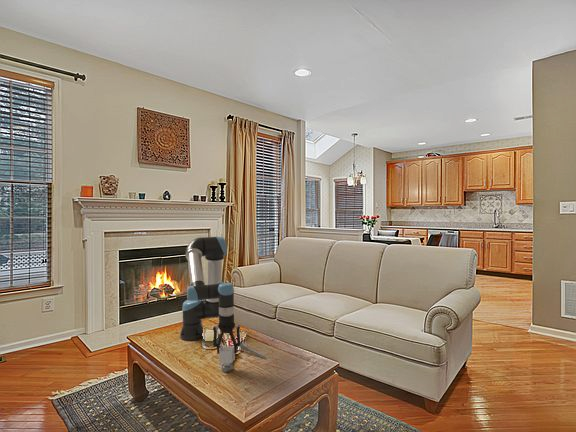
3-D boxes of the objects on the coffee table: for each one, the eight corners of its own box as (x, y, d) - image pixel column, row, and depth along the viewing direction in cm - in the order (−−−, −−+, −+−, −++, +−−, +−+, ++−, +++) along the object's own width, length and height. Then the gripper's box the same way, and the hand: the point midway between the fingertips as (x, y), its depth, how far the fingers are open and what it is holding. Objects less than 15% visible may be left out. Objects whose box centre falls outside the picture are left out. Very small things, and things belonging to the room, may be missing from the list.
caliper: (237, 351, 196) (236, 340, 195) (238, 350, 196) (238, 339, 196) (266, 359, 185) (266, 348, 184) (267, 358, 186) (267, 347, 185)
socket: (222, 357, 175) (222, 346, 175) (233, 357, 176) (233, 345, 175) (220, 363, 169) (220, 351, 169) (232, 362, 170) (232, 350, 169)
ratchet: (232, 372, 170) (231, 359, 170) (220, 372, 170) (220, 360, 170) (237, 353, 192) (237, 342, 192) (227, 353, 192) (227, 342, 192)
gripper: (205, 317, 168) (206, 363, 169) (244, 316, 168) (245, 362, 169) (209, 312, 175) (209, 356, 176) (246, 311, 176) (246, 355, 177)
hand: (227, 359), depth 173 cm, fingers closed on socket, 6 cm apart
